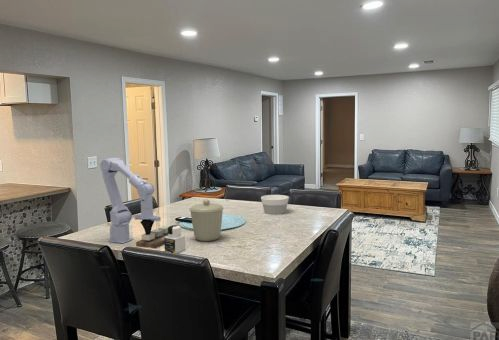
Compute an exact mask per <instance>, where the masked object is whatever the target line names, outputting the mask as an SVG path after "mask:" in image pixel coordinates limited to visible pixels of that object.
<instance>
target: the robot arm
mask: <svg viewBox="0 0 499 340" xmlns="http://www.w3.org/2000/svg"><path fill="white" fill-rule="evenodd" d="M99 166H100V170H101V172H102V174H101V175H102V178H103V182H104V184H105V185H104V186H105V188H106V192H107V194H108V197H109V201H110V204H111V206H112V209H111V210H110V211H109V217H110V222H111V225H110V227H109V238H110V239H109V241H108V242H110V243H119V244H125V243H128V242H131V241H132V240H134V238H133V237H130V223H131V221H132V219H133V217H134V220H138V221H139V220H140V224H141V226H142V228H143V230H144V234H145V233H146V235H149V234H151V231H152V228H153V226H154V223H155V222H161V216H157V215H154V209H153V208H154V206H153V205H154V204H153V194H154V192H155V186H154V185H153V184H152V183H151V182H147V181H146V180H144V178H142V177H141V175H140V174H137V173H135V174H134V172H133V171H131V169H129V167H128V166H127V165H126V164H125V162H124V160H123V159H122V158H121V157H118V156H116V157H109V158H103V159H102V160H101V162H100V163H99ZM118 172H119V173H120V174H122V175H123V176H124V177H126V178H127V179H128V183H130V185H131V186H132V187H133V188H134V189H136V193H137V194H138V196H139V200H140V214H136V215H134V216H133V217H132V215H133V214H132V212H131V211H130V209H129V208H128V206H126V205H125V204H124V203H123V199H122V197H121V193H120V190H119V188H118V187H119V186H118V184H117V180H116V178H115V177H116V175H117V174H118Z"/></svg>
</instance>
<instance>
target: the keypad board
mask: <svg viewBox="0 0 499 340" xmlns="http://www.w3.org/2000/svg"><path fill="white" fill-rule="evenodd" d="M180 235H182V233H181V234H180ZM166 236H169V235H168V233H163V235H161V236H158V237H155V238H154V239H151V240H142V239H140V240H137V241H136V243H135V244H136V247H143V248H149V247H151V248H152V249H158V248H160V247H162V246H165V245H164V237H166ZM157 247H158V248H157ZM151 248H150V249H151Z"/></svg>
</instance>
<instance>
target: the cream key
mask: <svg viewBox="0 0 499 340" xmlns="http://www.w3.org/2000/svg"><path fill="white" fill-rule="evenodd" d="M154 238H155V233H151V234H149V235H146V233H145V232H144V233H143V234H141V240H151V239H154Z"/></svg>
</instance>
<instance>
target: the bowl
mask: <svg viewBox="0 0 499 340" xmlns="http://www.w3.org/2000/svg"><path fill="white" fill-rule="evenodd" d="M260 200H261V204H262V207H263V211H264V213H265V214H266V215H271V216H277V215H284V214H286V211H287V207H288V203H289V201H290V196H288V195H284V194H266V195H262V196H261V197H260Z"/></svg>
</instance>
